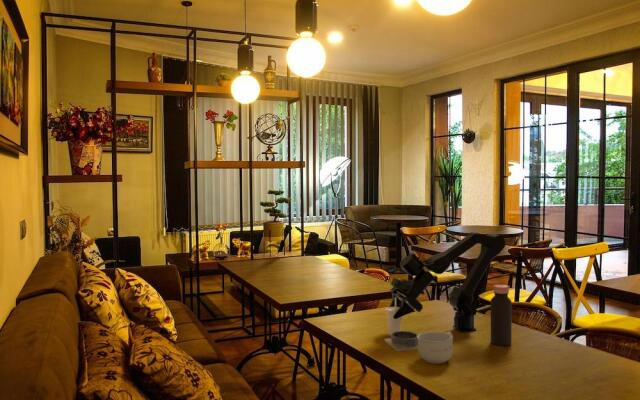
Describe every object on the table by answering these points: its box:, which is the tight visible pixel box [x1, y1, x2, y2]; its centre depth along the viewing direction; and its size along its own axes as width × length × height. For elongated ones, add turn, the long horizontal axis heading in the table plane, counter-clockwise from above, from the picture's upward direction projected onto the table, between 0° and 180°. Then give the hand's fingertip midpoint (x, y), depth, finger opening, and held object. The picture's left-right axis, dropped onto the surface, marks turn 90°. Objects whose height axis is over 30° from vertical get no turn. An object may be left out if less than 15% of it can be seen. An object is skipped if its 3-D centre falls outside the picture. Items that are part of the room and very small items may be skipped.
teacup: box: [417, 331, 454, 365], centre depth 158 cm, size 14×11×8 cm
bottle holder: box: [383, 330, 419, 352], centre depth 172 cm, size 11×11×3 cm
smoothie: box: [385, 297, 403, 337], centre depth 183 cm, size 6×6×14 cm
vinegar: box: [490, 284, 513, 347], centre depth 172 cm, size 7×7×20 cm
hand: (390, 315), depth 182 cm, fingers closed on smoothie, 6 cm apart
